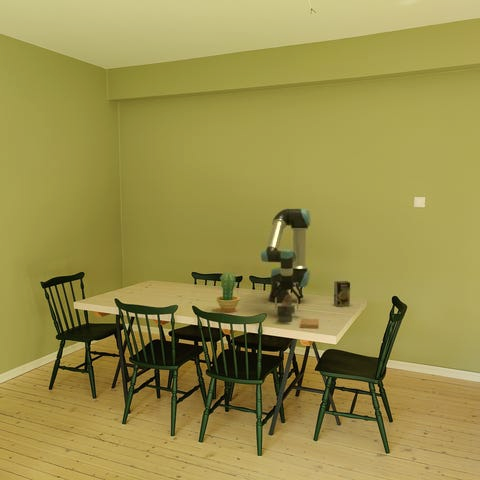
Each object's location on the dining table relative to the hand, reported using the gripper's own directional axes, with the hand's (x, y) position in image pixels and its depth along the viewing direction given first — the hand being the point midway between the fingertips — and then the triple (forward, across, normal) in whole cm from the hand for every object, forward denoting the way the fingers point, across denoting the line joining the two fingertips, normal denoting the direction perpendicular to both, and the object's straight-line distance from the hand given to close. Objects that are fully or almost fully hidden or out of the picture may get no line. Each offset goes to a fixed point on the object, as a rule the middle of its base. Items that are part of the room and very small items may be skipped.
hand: (286, 308), depth 290 cm
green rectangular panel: (+4, +15, -11) cm, 19 cm away
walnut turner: (+1, 0, 0) cm, 1 cm away
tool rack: (+5, 0, 0) cm, 5 cm away
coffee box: (+5, +34, +32) cm, 47 cm away
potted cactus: (+5, -39, +8) cm, 40 cm away
